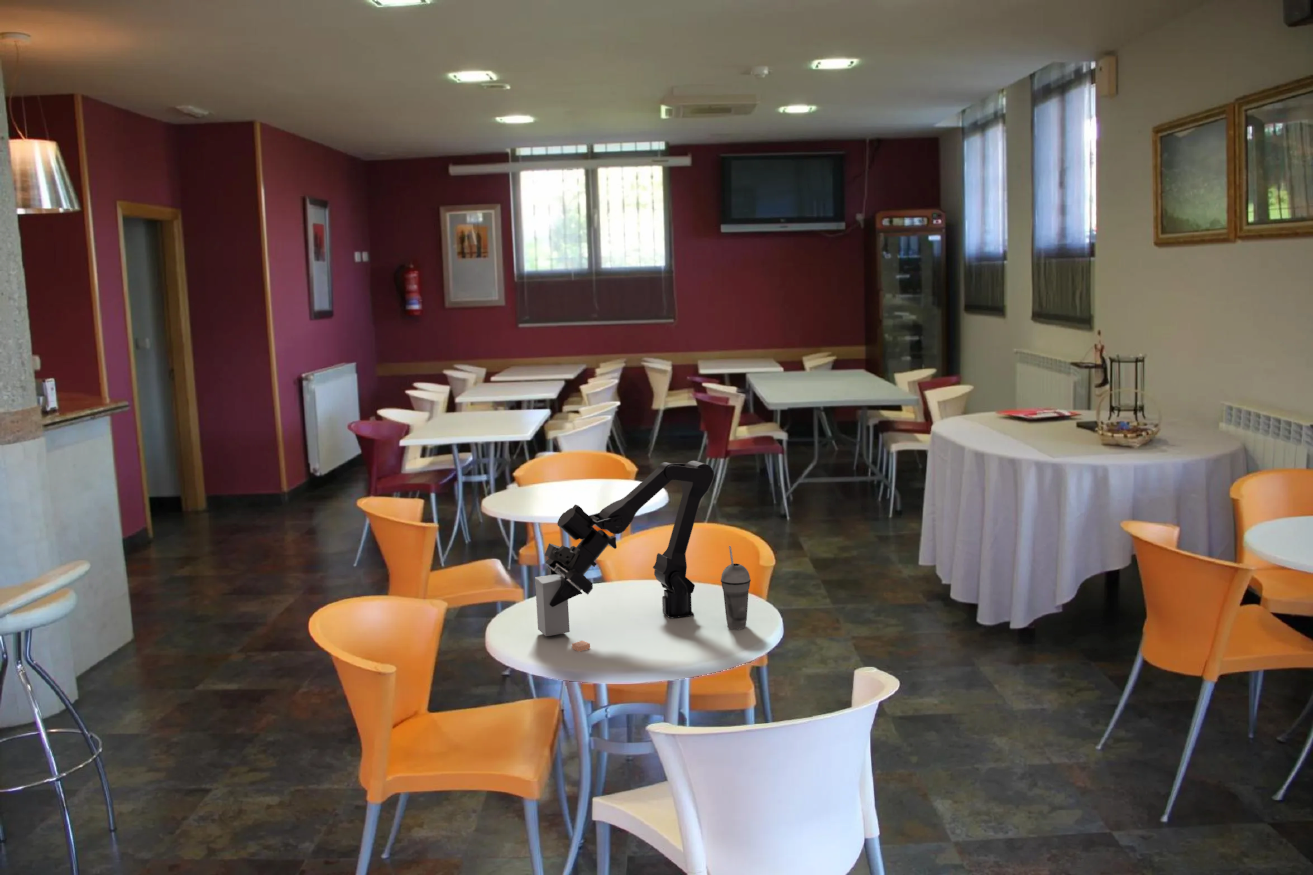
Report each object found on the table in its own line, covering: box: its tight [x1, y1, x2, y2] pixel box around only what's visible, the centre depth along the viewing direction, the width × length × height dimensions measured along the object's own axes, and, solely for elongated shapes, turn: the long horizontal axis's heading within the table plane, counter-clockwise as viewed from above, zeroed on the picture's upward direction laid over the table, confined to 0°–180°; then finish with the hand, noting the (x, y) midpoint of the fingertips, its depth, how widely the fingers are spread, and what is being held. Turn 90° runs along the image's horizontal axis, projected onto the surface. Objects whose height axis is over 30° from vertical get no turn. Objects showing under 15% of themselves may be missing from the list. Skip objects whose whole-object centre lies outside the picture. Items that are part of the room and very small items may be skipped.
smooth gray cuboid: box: [534, 574, 571, 637], centre depth 260 cm, size 6×6×13 cm
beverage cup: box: [720, 545, 751, 630], centre depth 261 cm, size 7×7×20 cm
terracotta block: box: [571, 640, 591, 652], centre depth 250 cm, size 3×3×2 cm
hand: (546, 602), depth 259 cm, fingers closed on smooth gray cuboid, 6 cm apart
